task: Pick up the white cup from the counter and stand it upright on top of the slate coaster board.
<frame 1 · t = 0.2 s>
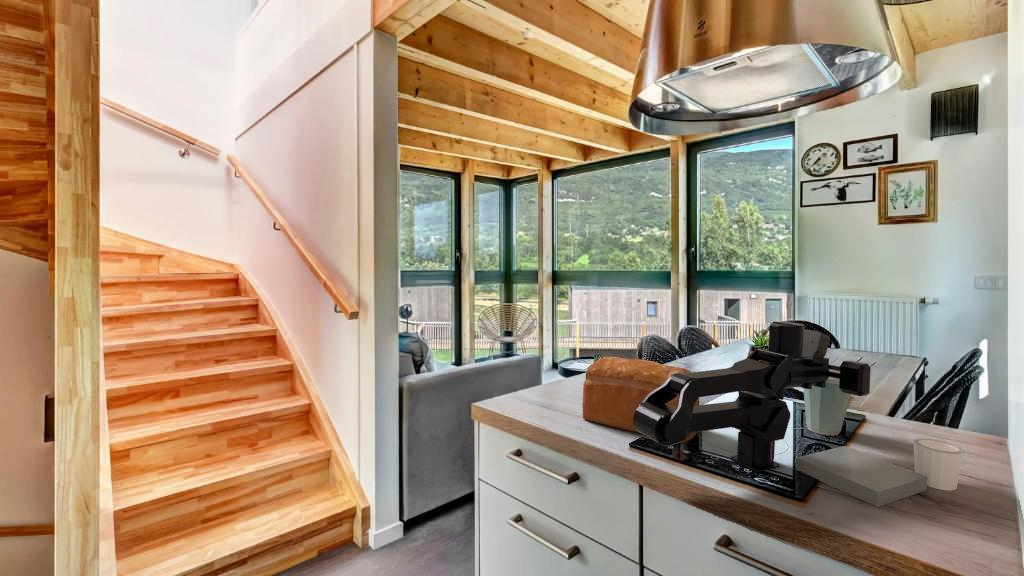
hand: (844, 368, 100), 17 cm above the worktop, tool horizontal, fingers open, 9 cm apart
bread: (638, 425, 113), on the worktop
white cup: (935, 483, 85), on the worktop
disposable coffee cup: (824, 431, 109), on the worktop
slate board: (858, 479, 86), on the worktop
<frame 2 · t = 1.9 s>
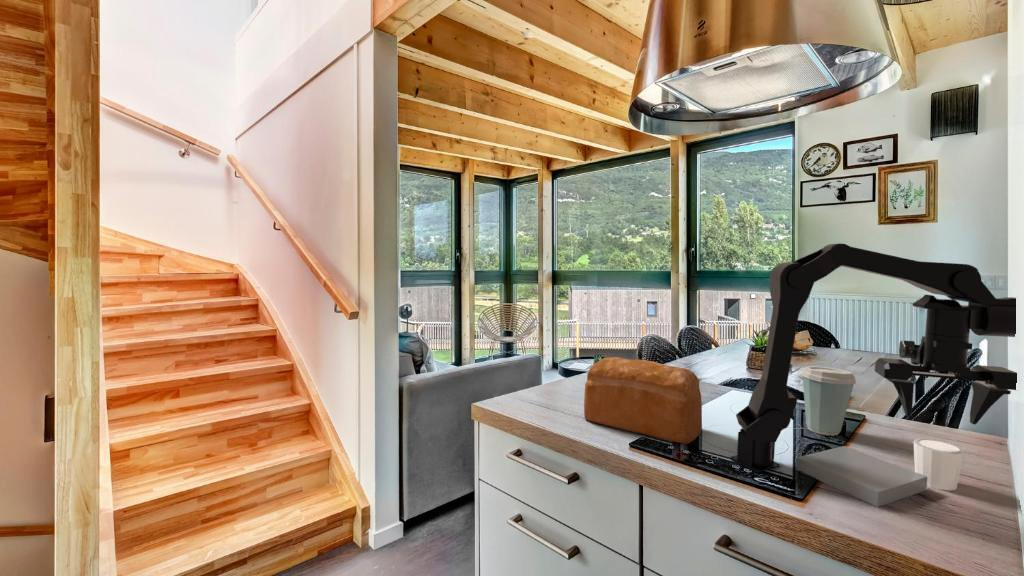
hand: (939, 419, 84), 12 cm above the worktop, tool pointing down, fingers open, 9 cm apart
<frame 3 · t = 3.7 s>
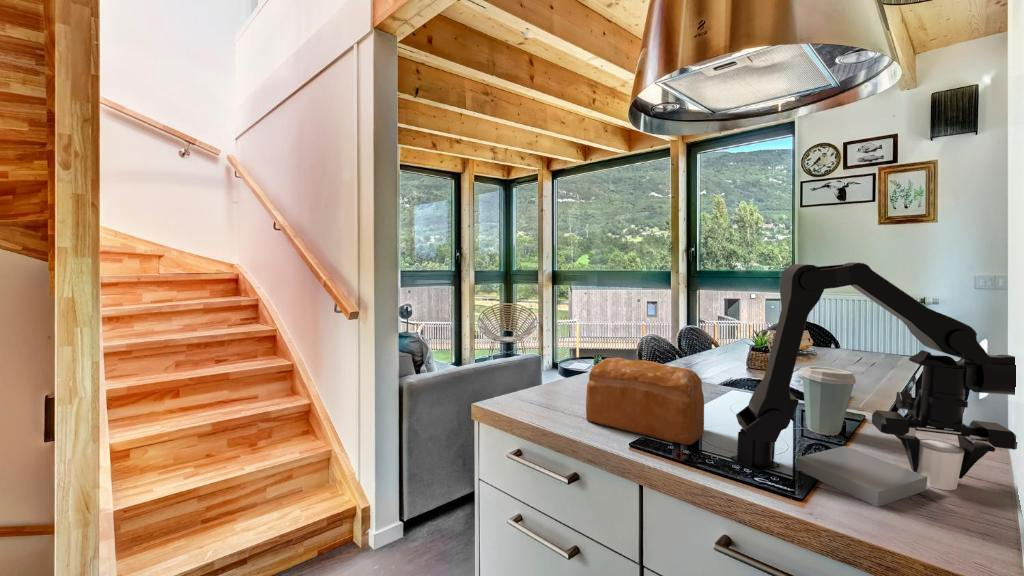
hand: (936, 474, 85), 2 cm above the worktop, tool pointing down, fingers closed on white cup, 6 cm apart
white cup: (935, 483, 85), on the worktop, touching gripper
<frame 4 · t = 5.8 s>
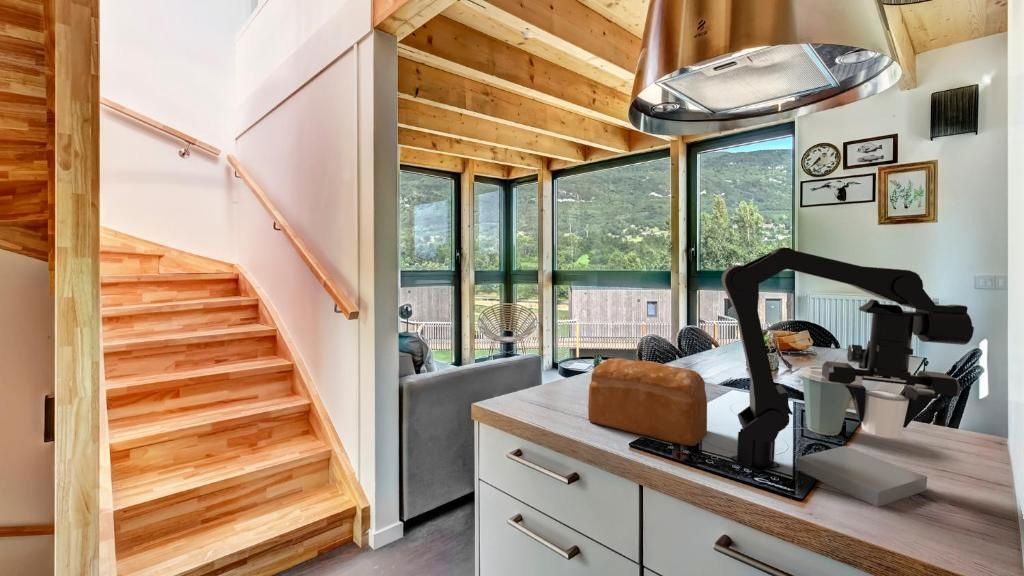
hand: (881, 423, 85), 11 cm above the worktop, tool pointing down, fingers closed on white cup, 6 cm apart
white cup: (880, 433, 85), point 9 cm above the worktop, touching gripper
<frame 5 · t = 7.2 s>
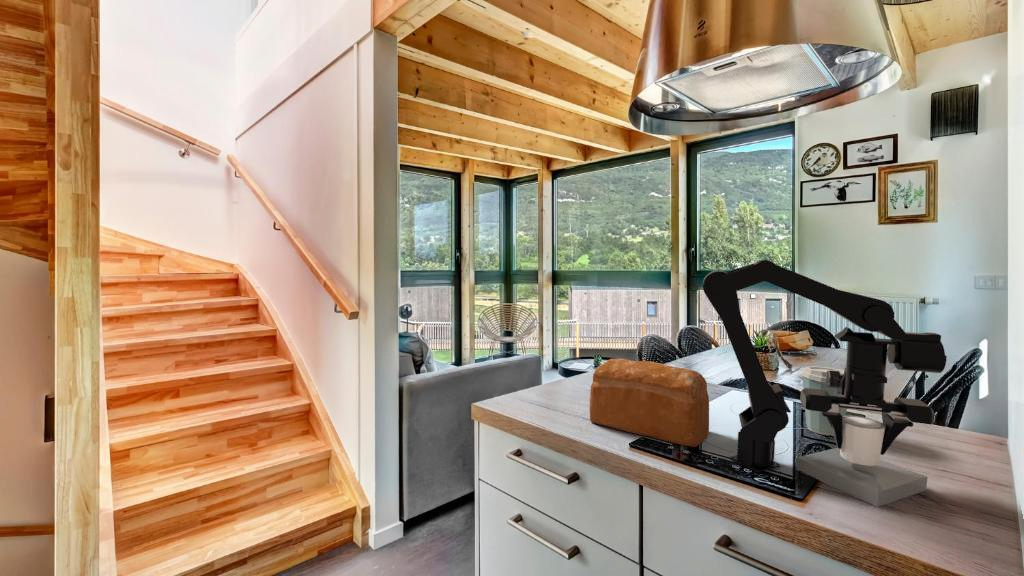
hand: (859, 450, 85), 5 cm above the worktop, tool pointing down, fingers closed on white cup, 6 cm apart
white cup: (859, 459, 85), point 4 cm above the worktop, touching gripper
when the fingers open (5 cm above the worktop, at t = 8.2 s): white cup drops 1 cm, resting on slate board.
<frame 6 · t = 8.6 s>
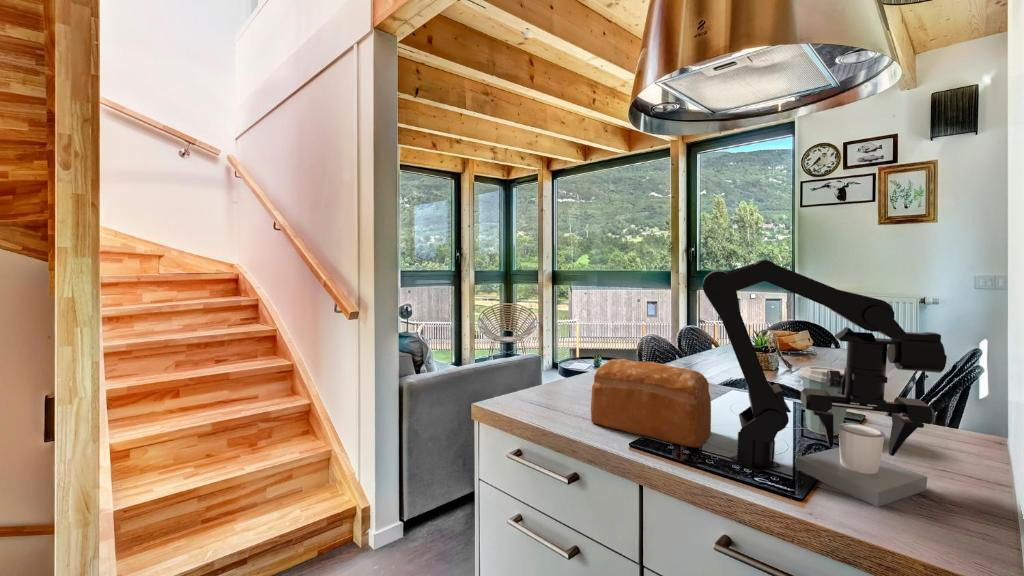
hand: (860, 450, 85), 5 cm above the worktop, tool pointing down, fingers open, 9 cm apart
white cup: (858, 467, 85), point 2 cm above the worktop, touching slate board
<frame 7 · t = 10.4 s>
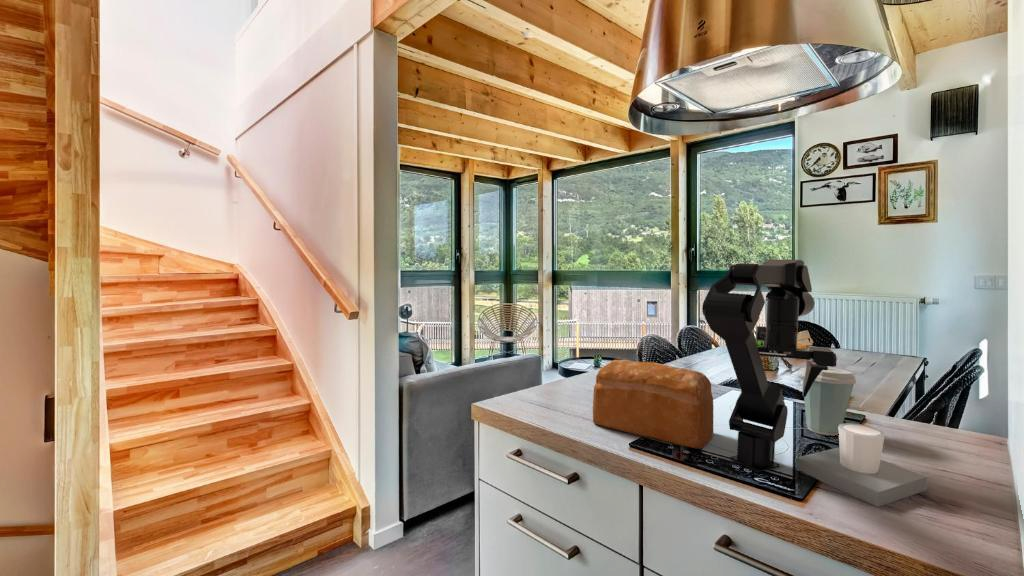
hand: (778, 393, 98), 12 cm above the worktop, tool pointing down, fingers open, 9 cm apart
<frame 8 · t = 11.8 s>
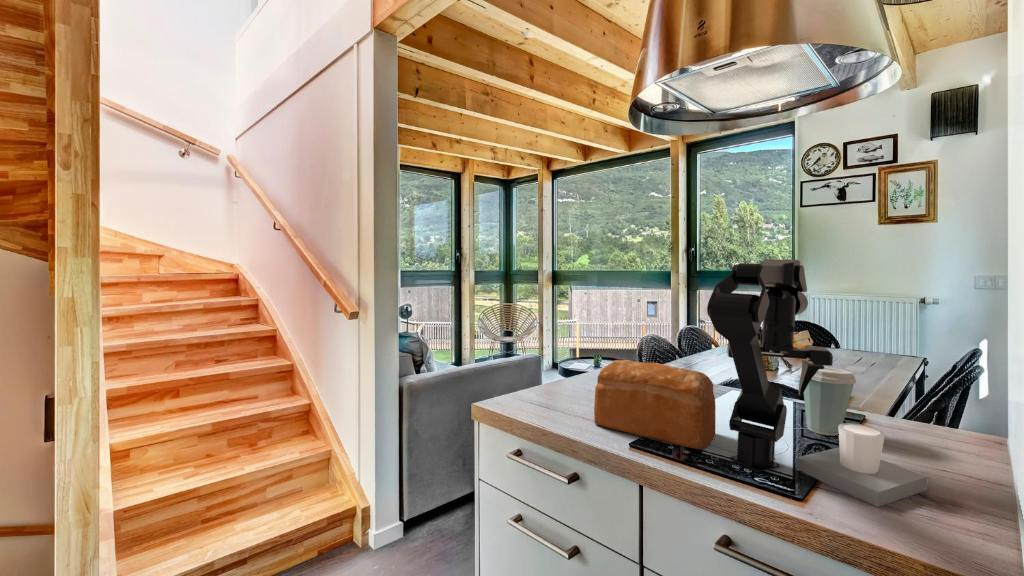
hand: (774, 392, 99), 12 cm above the worktop, tool pointing down, fingers open, 9 cm apart
at the end: white cup inside the target area on the slate board (0.1 cm from its centre), point 2.3 cm above the slate board's base; white cup tilted 0°; the gripper is holding nothing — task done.
